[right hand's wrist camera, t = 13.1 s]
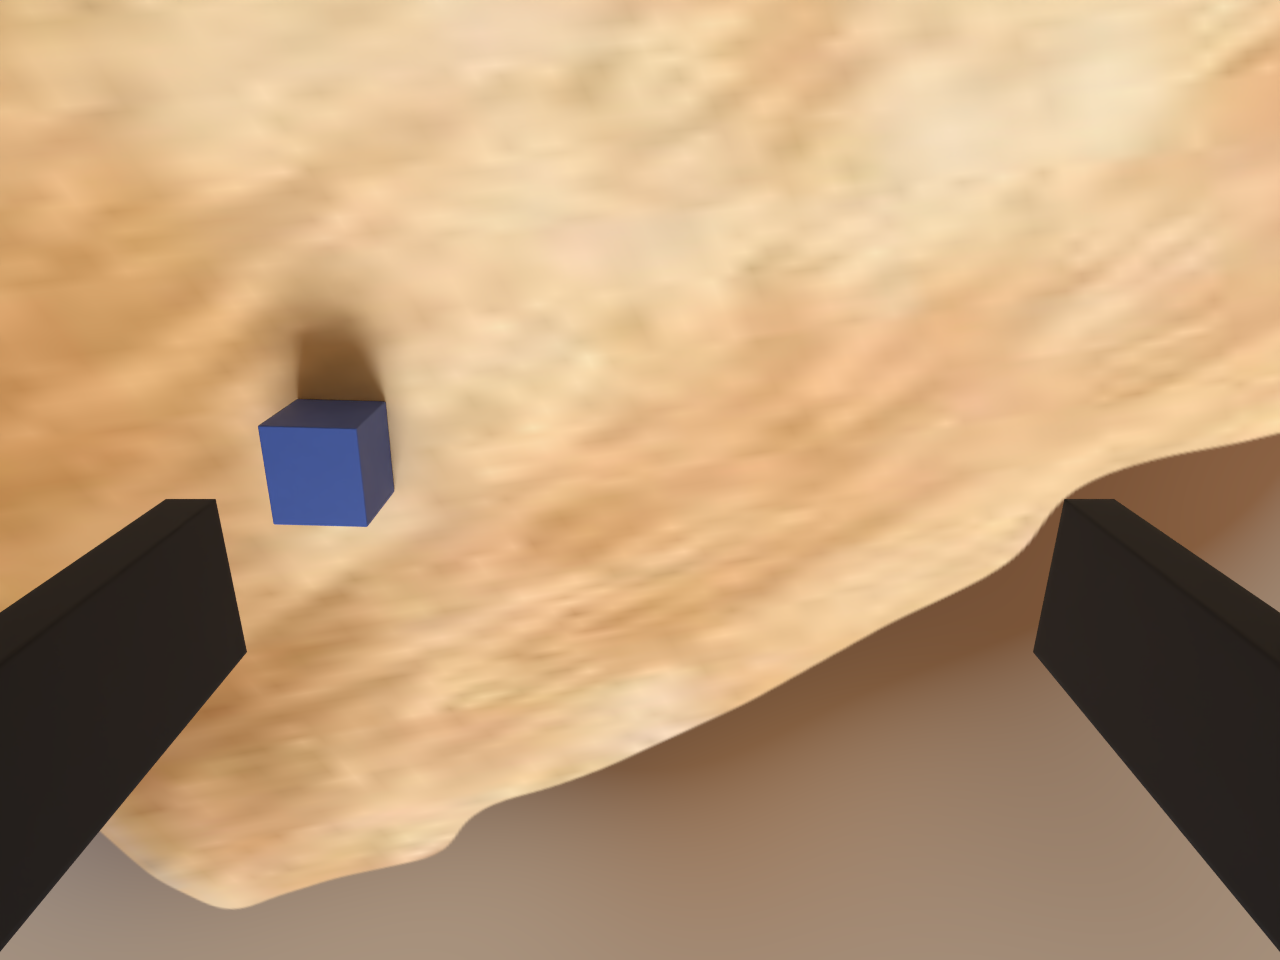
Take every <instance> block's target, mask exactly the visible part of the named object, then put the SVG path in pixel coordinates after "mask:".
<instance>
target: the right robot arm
mask: <svg viewBox="0 0 1280 960" xmlns="http://www.w3.org/2000/svg"><path fill="white" fill-rule="evenodd" d="M246 652H247V650H246V645H245V641H244V636H243V631H242V626H241V621H240V616H239V611H238V606H237V601H236V597H235V592H234V587H233V582H232V577H231V572H230V567H229V562H228V558H227V553H226V548H225V543H224V538H223V533H222V528H221V523H220V519H219V514H218V509H217V504H216V499H165V500H164V501H163V502H161V503H160V504H158V505H157V506H155V507H154V508H152V509H151V510H149V511H148V512H146V513H145V514H144V515H142V516H141V517H139V518H138V519H136V520H135V521H133V522H132V523H130V524H129V525H128V526H126V527H125V528H123V529H122V530H120V531H119V532H117V533H116V534H114V535H113V536H111V537H110V538H109V539H107V540H106V541H104V542H103V543H101V544H100V545H98V546H97V547H95V548H94V549H92V550H91V551H90V552H88V553H87V554H85V555H84V556H82V557H81V558H79V559H78V560H76V561H75V562H73V563H72V564H71V565H69V566H68V567H66V568H65V569H63V570H62V571H60V572H59V573H57V574H56V575H54V576H53V577H52V578H50V579H49V580H47V581H46V582H44V583H43V584H41V585H40V586H38V587H37V588H35V589H34V590H33V591H31V592H30V593H28V594H27V595H25V596H24V597H22V598H21V599H19V600H18V601H17V602H15V603H14V604H12V605H11V606H9V607H8V608H6V609H5V610H3V611H2V612H0V951H1V950H2V949H3V948H4V946H5V945H6V944H7V943H8V941H9V940H10V939H11V938H12V937H13V935H14V934H15V933H16V932H17V931H18V929H19V928H20V927H21V926H22V924H23V923H24V922H25V921H26V920H27V918H28V917H29V916H30V915H31V914H32V912H33V911H34V910H35V909H36V907H37V906H38V905H39V904H40V903H41V901H42V900H43V899H44V898H45V897H46V895H47V894H48V893H49V892H50V890H51V889H52V888H53V887H54V886H55V884H56V883H57V882H58V881H59V880H60V878H61V877H62V876H63V875H64V873H65V872H66V871H67V870H68V869H69V867H70V866H71V865H72V864H73V863H74V861H75V860H76V859H77V858H78V856H79V855H80V854H81V853H82V852H83V850H84V849H85V848H86V847H87V845H88V844H89V843H90V842H91V841H92V839H93V838H94V837H95V836H96V835H97V833H98V832H99V831H100V830H101V829H102V827H103V826H104V825H105V824H106V822H107V821H108V820H109V819H110V818H111V816H112V815H113V814H114V813H115V812H116V810H117V809H118V808H119V807H120V805H121V804H122V803H123V802H124V801H125V799H126V798H127V797H128V796H129V795H130V793H131V792H132V791H133V790H134V788H135V787H136V786H137V785H138V784H139V782H140V781H141V780H142V779H143V778H144V776H145V775H146V774H147V773H148V771H149V770H150V769H151V768H152V767H153V765H154V764H155V763H156V762H157V761H158V759H159V758H160V757H161V756H162V754H163V753H164V752H165V751H166V750H167V748H168V747H169V746H170V745H171V744H172V742H173V741H174V740H175V739H176V737H177V736H178V735H179V734H180V733H181V731H182V730H183V729H184V728H185V727H186V725H187V724H188V723H189V722H190V720H191V719H192V718H193V717H194V716H195V714H196V713H197V712H198V711H199V710H200V708H201V707H202V706H203V705H204V703H205V702H206V701H207V700H208V699H209V697H210V696H211V695H212V694H213V693H214V691H215V690H216V689H217V688H218V686H219V685H220V684H221V683H222V682H223V680H224V679H225V678H226V677H227V676H228V674H229V673H230V672H231V671H232V669H233V668H234V667H235V666H236V665H237V663H238V662H239V661H240V660H241V659H242V657H243V656H244V655H245V654H246ZM1033 652H1034V654H1035V655H1036V656H1037V657H1038V659H1039V660H1040V661H1041V662H1042V663H1043V665H1044V666H1045V667H1046V668H1047V669H1048V671H1049V672H1050V673H1051V674H1052V675H1053V677H1054V678H1055V679H1056V680H1057V682H1058V683H1059V684H1060V685H1061V686H1062V688H1063V689H1064V690H1065V691H1066V692H1067V694H1068V695H1069V696H1070V697H1071V699H1072V700H1073V701H1074V702H1075V703H1076V705H1077V706H1078V707H1079V708H1080V709H1081V711H1082V712H1083V713H1084V714H1085V716H1086V717H1087V718H1088V719H1089V720H1090V722H1091V723H1092V724H1093V725H1094V726H1095V728H1096V729H1097V730H1098V731H1099V733H1100V734H1101V735H1102V736H1103V737H1104V739H1105V740H1106V741H1107V742H1108V744H1109V745H1110V746H1111V747H1112V748H1113V750H1114V751H1115V752H1116V753H1117V754H1118V756H1119V757H1120V758H1121V759H1122V761H1123V762H1124V763H1125V764H1126V765H1127V767H1128V768H1129V769H1130V770H1131V771H1132V773H1133V774H1134V775H1135V776H1136V778H1137V779H1138V780H1139V781H1140V782H1141V784H1142V785H1143V786H1144V787H1145V788H1146V790H1147V791H1148V792H1149V793H1150V794H1151V796H1152V797H1153V798H1154V799H1155V801H1156V802H1157V803H1158V804H1159V805H1160V807H1161V808H1162V809H1163V810H1164V812H1165V813H1166V814H1167V815H1168V816H1169V818H1170V819H1171V820H1172V821H1173V822H1174V824H1175V825H1176V826H1177V827H1178V829H1179V830H1180V831H1181V832H1182V833H1183V835H1184V836H1185V837H1186V838H1187V839H1188V841H1189V842H1190V843H1191V844H1192V846H1193V847H1194V848H1195V849H1196V850H1197V852H1198V853H1199V854H1200V855H1201V856H1202V858H1203V859H1204V860H1205V861H1206V863H1207V864H1208V865H1209V866H1210V867H1211V869H1212V870H1213V871H1214V872H1215V873H1216V875H1217V876H1218V877H1219V878H1220V879H1221V881H1222V882H1223V883H1224V884H1225V886H1226V887H1227V888H1228V889H1229V890H1230V892H1231V893H1232V894H1233V895H1234V896H1235V898H1236V899H1237V900H1238V901H1239V903H1240V904H1241V905H1242V906H1243V907H1244V909H1245V910H1246V911H1247V912H1248V914H1249V915H1250V916H1251V917H1252V918H1253V920H1254V921H1255V922H1256V923H1257V924H1258V926H1259V927H1260V928H1261V929H1262V931H1263V932H1264V933H1265V934H1266V935H1267V937H1268V938H1269V939H1270V940H1271V941H1272V943H1273V944H1274V945H1275V946H1276V948H1277V949H1278V950H1279V951H1280V613H1279V612H1278V611H1277V610H1275V609H1274V608H1272V607H1271V606H1269V605H1268V604H1266V603H1265V602H1263V601H1262V600H1261V599H1259V598H1258V597H1256V596H1255V595H1253V594H1252V593H1250V592H1249V591H1247V590H1246V589H1245V588H1243V587H1242V586H1240V585H1239V584H1237V583H1236V582H1234V581H1233V580H1231V579H1230V578H1228V577H1227V576H1226V575H1224V574H1223V573H1221V572H1220V571H1218V570H1217V569H1215V568H1214V567H1212V566H1211V565H1209V564H1208V563H1207V562H1205V561H1204V560H1202V559H1201V558H1199V557H1198V556H1196V555H1195V554H1193V553H1192V552H1190V551H1189V550H1188V549H1186V548H1185V547H1183V546H1182V545H1180V544H1179V543H1177V542H1176V541H1174V540H1173V539H1171V538H1170V537H1169V536H1167V535H1166V534H1164V533H1163V532H1161V531H1160V530H1158V529H1157V528H1155V527H1154V526H1152V525H1151V524H1150V523H1148V522H1147V521H1145V520H1144V519H1142V518H1141V517H1139V516H1138V515H1136V514H1135V513H1133V512H1132V511H1131V510H1129V509H1128V508H1126V507H1125V506H1123V505H1122V504H1120V503H1119V502H1117V501H1116V500H1115V499H1064V504H1063V509H1062V514H1061V519H1060V523H1059V528H1058V533H1057V538H1056V543H1055V548H1054V553H1053V558H1052V563H1051V567H1050V572H1049V577H1048V582H1047V587H1046V592H1045V597H1044V601H1043V606H1042V611H1041V616H1040V621H1039V626H1038V631H1037V636H1036V641H1035V645H1034V650H1033Z"/></svg>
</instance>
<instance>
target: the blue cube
mask: <svg viewBox="0 0 1280 960" xmlns="http://www.w3.org/2000/svg"><path fill="white" fill-rule="evenodd" d="M258 429H259V435H260V442H261V448H262V454H263V460H264V467H265V473H266V479H267V485H268V491H269V498H270V504H271V510H272V516H273V523H274V524H283V525H320V526H357V527H367V526H368V525H369V524H370V522H371V521H372V520H373V518H374V517H375V516H376V515H377V513H378V512H379V511H380V509H381V508H382V507H383V505H384V504H385V503H386V501H387V500H388V499H389V498H390V496H391V495H392V494H393V492H394V484H393V474H392V463H391V453H390V443H389V433H388V422H387V412H386V402H384V401H349V400H312V399H297V400H295V401H294V402H292V403H291V404H289V405H288V406H286V407H285V408H284V409H282V410H281V411H279V412H278V413H276V414H275V415H273V416H272V417H270V418H269V419H267V420H266V421H265V422H263V423H262V424H260V425H259V426H258Z"/></svg>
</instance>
